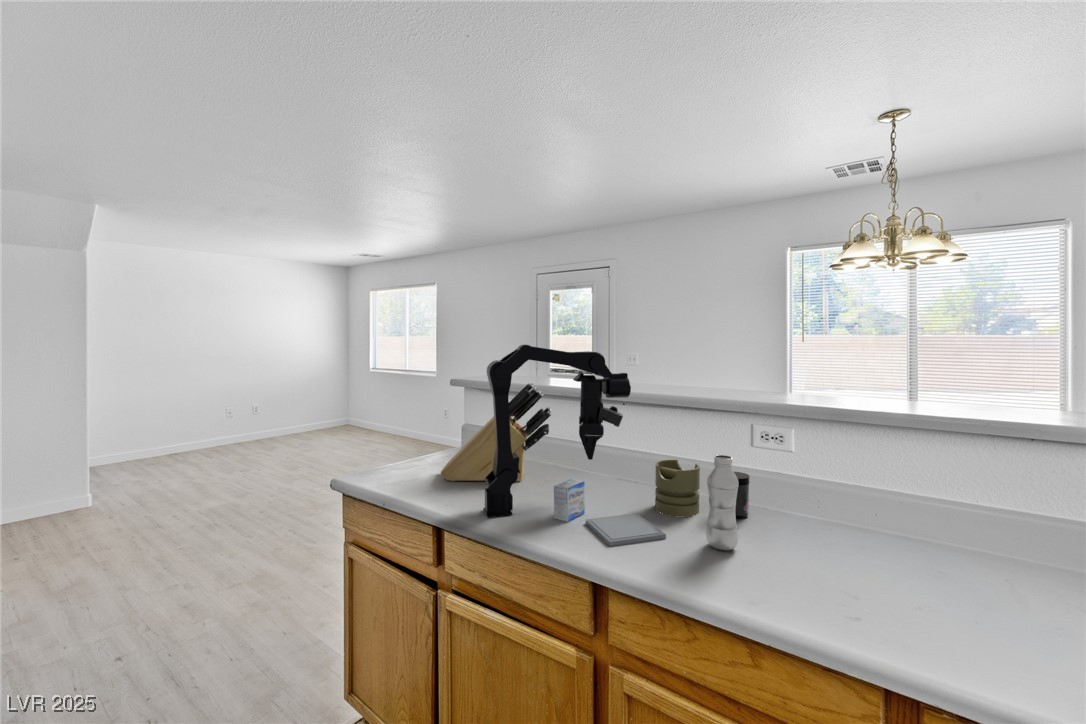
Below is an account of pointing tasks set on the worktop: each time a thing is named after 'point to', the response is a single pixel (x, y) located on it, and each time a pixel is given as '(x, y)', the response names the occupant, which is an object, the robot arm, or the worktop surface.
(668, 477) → the piston
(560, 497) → the medicine box
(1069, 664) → the worktop surface
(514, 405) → the knife block
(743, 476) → the supplement container
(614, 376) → the robot arm
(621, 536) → the slate pad
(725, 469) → the plastic bottle
